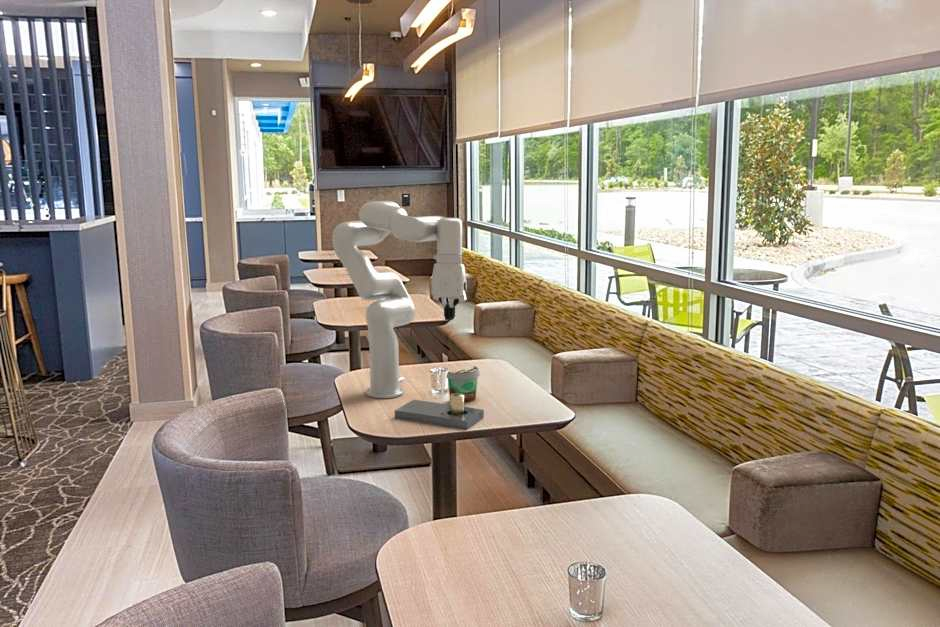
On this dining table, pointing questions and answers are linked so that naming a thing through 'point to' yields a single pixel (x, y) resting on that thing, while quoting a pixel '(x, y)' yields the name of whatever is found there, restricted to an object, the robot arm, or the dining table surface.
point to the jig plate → (438, 414)
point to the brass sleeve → (457, 404)
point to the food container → (464, 383)
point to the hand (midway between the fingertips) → (449, 319)
